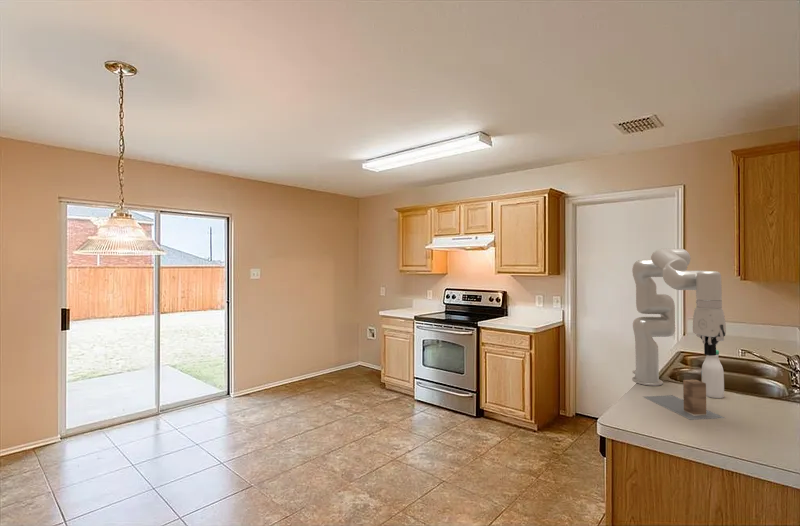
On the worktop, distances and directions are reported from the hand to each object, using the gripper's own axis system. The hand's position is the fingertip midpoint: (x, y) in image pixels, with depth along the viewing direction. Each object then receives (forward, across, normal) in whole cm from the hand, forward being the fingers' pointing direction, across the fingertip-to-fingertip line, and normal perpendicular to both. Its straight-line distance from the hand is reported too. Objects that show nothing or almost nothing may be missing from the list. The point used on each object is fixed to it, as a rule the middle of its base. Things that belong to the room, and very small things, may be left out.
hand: (710, 355), depth 149 cm
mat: (+24, -15, 0) cm, 28 cm away
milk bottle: (+24, -26, +24) cm, 43 cm away
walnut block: (+24, -8, 0) cm, 25 cm away
